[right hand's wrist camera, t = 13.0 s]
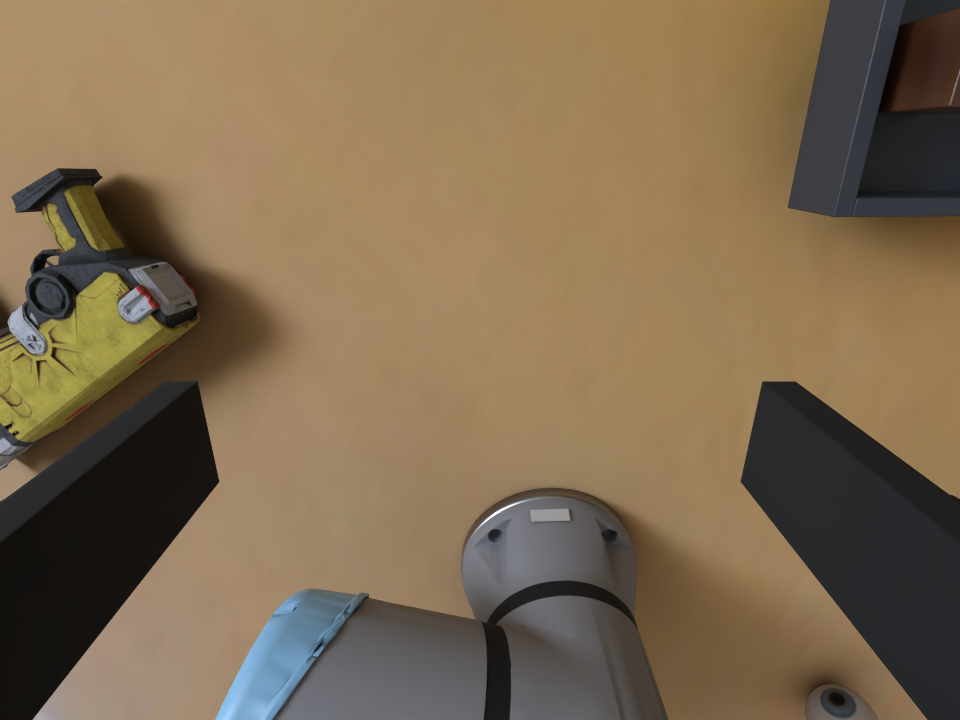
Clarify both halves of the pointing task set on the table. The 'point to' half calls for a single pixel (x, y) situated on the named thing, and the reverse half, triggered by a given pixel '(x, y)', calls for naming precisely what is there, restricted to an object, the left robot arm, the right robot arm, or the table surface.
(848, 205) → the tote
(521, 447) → the table surface
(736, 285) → the table surface
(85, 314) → the toy gun
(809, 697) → the eyeball
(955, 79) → the walnut block
